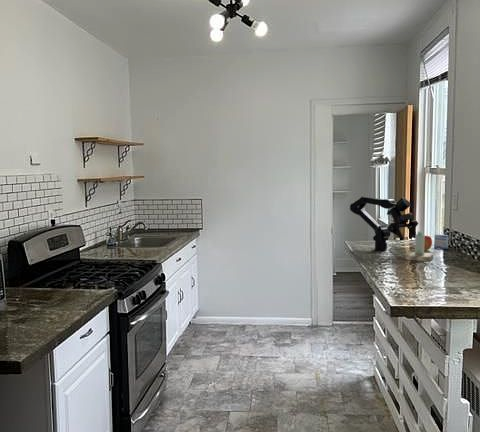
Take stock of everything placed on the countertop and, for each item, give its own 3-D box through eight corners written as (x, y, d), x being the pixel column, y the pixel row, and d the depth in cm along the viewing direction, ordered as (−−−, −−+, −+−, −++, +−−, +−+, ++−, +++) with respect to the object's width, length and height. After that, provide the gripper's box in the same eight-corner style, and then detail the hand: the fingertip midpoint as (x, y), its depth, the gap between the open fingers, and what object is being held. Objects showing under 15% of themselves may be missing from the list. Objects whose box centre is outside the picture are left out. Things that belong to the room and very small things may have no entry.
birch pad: (405, 259, 268) (405, 255, 268) (409, 255, 279) (409, 251, 279) (429, 261, 262) (430, 257, 261) (433, 257, 273) (433, 253, 273)
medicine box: (433, 248, 304) (434, 234, 304) (434, 247, 308) (435, 234, 307) (447, 249, 301) (447, 235, 300) (447, 248, 305) (448, 234, 304)
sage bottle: (418, 255, 267) (418, 232, 266) (413, 253, 272) (413, 231, 271) (425, 254, 268) (426, 231, 267) (420, 253, 273) (421, 230, 272)
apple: (434, 252, 290) (434, 236, 289) (418, 252, 290) (419, 236, 289) (428, 249, 299) (428, 233, 298) (413, 249, 300) (413, 233, 299)
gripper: (390, 209, 277) (402, 231, 268) (416, 207, 283) (429, 228, 275) (382, 220, 286) (393, 242, 277) (407, 218, 292) (419, 239, 283)
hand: (409, 237), depth 278 cm, fingers open, 9 cm apart
